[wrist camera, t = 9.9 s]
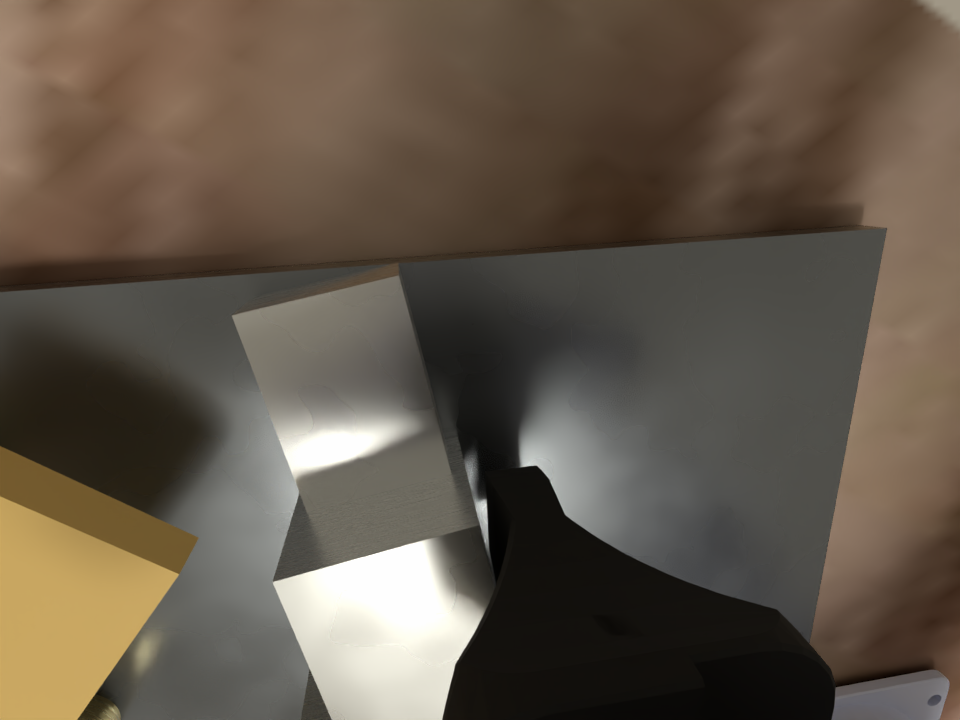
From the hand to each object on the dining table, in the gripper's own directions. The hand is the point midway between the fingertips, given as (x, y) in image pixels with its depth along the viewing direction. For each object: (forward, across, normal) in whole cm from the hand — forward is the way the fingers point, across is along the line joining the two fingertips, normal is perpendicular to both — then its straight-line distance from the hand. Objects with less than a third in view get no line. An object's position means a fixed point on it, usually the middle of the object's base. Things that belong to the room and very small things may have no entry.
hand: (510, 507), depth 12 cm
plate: (+2, +2, +2) cm, 3 cm away
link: (+1, +2, +2) cm, 3 cm away
